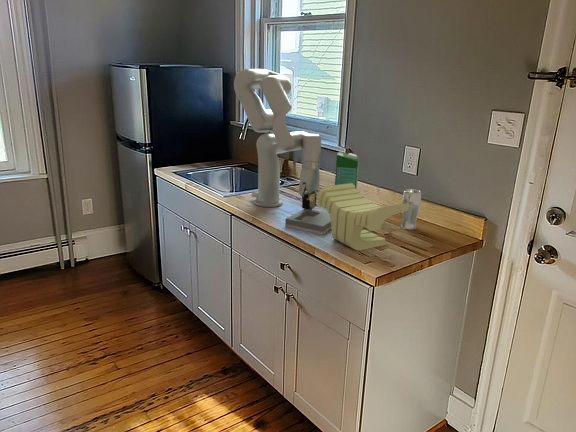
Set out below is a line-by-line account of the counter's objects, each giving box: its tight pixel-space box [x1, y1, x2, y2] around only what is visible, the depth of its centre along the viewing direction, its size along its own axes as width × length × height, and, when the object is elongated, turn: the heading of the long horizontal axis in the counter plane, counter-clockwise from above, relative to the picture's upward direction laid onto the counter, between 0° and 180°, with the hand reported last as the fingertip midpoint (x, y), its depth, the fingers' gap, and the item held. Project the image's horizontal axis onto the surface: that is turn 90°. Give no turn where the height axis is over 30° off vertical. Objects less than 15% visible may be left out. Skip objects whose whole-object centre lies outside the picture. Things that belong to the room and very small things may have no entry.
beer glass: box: [400, 188, 422, 231], centre depth 187 cm, size 7×7×15 cm
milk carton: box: [334, 150, 360, 189], centre depth 207 cm, size 9×9×25 cm
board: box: [284, 208, 332, 235], centre depth 188 cm, size 16×16×3 cm
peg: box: [305, 192, 316, 210], centre depth 201 cm, size 5×5×9 cm
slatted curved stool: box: [316, 183, 409, 251], centre depth 169 cm, size 30×16×18 cm, turn 31°
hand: (309, 206), depth 201 cm, fingers closed on peg, 5 cm apart
